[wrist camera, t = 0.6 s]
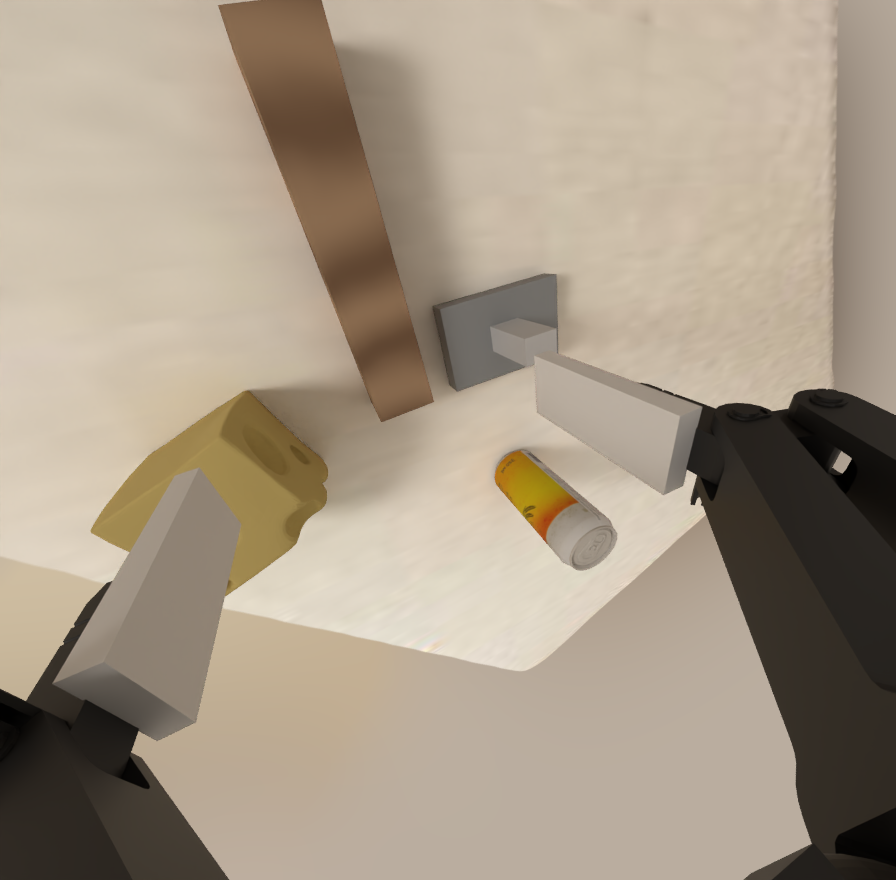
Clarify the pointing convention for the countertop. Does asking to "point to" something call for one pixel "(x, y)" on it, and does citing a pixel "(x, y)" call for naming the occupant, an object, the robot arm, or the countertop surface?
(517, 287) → the fulcrum
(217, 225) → the countertop surface
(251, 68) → the walnut bar
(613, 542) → the beer can
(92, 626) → the robot arm
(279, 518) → the cheese
